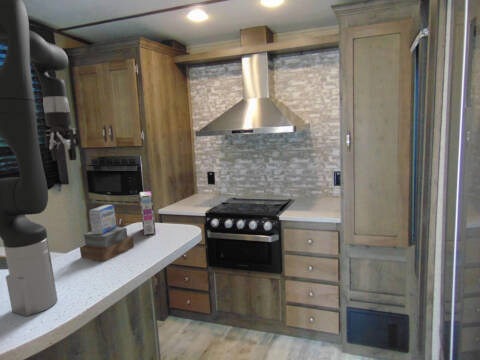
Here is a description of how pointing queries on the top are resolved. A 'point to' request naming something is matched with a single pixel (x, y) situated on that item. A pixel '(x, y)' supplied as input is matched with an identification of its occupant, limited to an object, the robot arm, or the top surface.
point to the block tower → (106, 244)
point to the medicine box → (102, 219)
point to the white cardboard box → (147, 213)
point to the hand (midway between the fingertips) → (64, 160)
